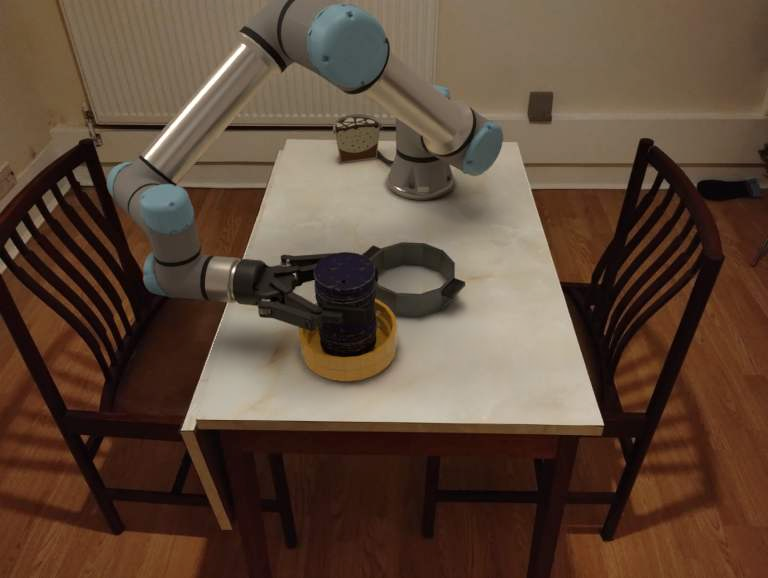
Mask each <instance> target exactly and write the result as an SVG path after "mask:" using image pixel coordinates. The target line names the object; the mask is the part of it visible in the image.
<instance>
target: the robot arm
mask: <svg viewBox="0 0 768 578" xmlns="http://www.w3.org/2000/svg"><path fill="white" fill-rule="evenodd" d="M236 38H237V39H236V41H237V42H236V44H235V45H234V46H233V48H232V49H231V50H229V51H230V52H228V53H227V55H226V56H225V57H224V58H223V59H222V61H221V62H220V63H218V65H217V66H216V67H215V68H214V69H213V71H212V72H211V73H210V74H209V75H208V77H207V78H206V79H205V80H204V81H203V83H201V85H200V86H199V87H198V88H197V89H196V91H194V93H193V94H192V95H191V96H190V97H189V98H188V100H187V101H186V102H185V103H184V104H183V105H182V106H181V108H179V110H178V112H177V113H175V114H174V116H173V117H172V118H171V119H170V120H169V122H168V123H167V124H166V125H165V126H164V127H163V128H162V130H161V131H160V132H159V133H158V134H157V136H156V137H155V138H154V139H153V140H152V141H151V142H150V144H149V145H148V146H147V147H146V148H145V149H144V150H143V151H142V153H141V154H140V155H139V156H138V157H137V158H136V159H135V161H124V162H121V163H119V164H118V165H115V166H114V167H113V168H112V169H111V170H110V172H109V173H108V175H107V179H106V188H107V190H108V193H109V195H110V196H111V197H112V199H113V200H114V203H116V204H117V206H118V207H119V209H121V210H122V211H124V212H125V213H126V214H127V215H128V217H130V218H131V220H132V221H133V222H134V223H135V224H136V225H137V227H139V229H140V230H141V231H142V232H143V233H144V234H145V235H146V237H147V239H148V242H149V244H150V248H151V251H152V252H150V253H149V254H148V255H147V257H145V258H146V259H145V260H144V263H143V268H142V272H143V277H142V280H143V284H144V286H145V288H146V289H147V291H148V292H150V293H151V294H154V295H158V296H163V297H168V298H172V299H177V298H179V299H190V300H191V299H193V300H200V301H201V300H203V301H210V302H220V303H229V304H230V303H231V304H235V303H237V304H238V305H242V306H243V305H244V306H253V307H257V310H258V311H257V312H258V316H259V317H260V318H262V319H263V318H264V319H274V320H277V321H279V322H283V323H286V324H287V325H292V326H294V327H298V328H299V327H300V328H303V329H306V330H309V331H315V330H316V326H317V327H322V326H323V322H328V323H337V324H340V323H343V322H345V323H355V324H364V325H365V324H366V308H357V307H348V306H339V305H329V304H324V307H323V310H322V308H321V307H319V306H317V305H315V303H313V301H311V300H308V299H307V298H305V297H303V296H301V295H300V294H298V293H296V292H295V289H296V288H298V287H301V286H302V285H303V284H305V283H309V282H313V281H314V282H315V278H314V268H315V266H316V264H317V263H318V262H319V261H320V260H321V259H323V258H324V257H326V256H328V255H331V254H335V253H336V252H329V253H316V254H301V255H290V254H281V255H280V262H279V264H278V265H277V264H276V265H268V264H267V263H266V262H264V260H261V259H252V258H242V259H240V258H239V257H234V256H221V255H212V254H210V255H209V254H203V250H202V247H201V242H200V237H199V233H198V228H197V224H196V219H195V211H194V206H193V205H192V202H191V199H190V196H189V194H188V192H187V190H186V189H185V188H183V186H180V185H178V184H179V183H180V182H181V181H182V180H183V178H184V177H185V176H186V175H187V174H188V172H189V171H190V170H191V169H192V168H193V167H194V166H195V165H196V164H197V162H198V161H199V160H200V159H201V158H202V156H203V155H204V154H205V153H206V152H207V151H208V150H209V149H210V147H212V145H213V144H214V143H215V141H216V140H217V139H218V138H219V137H220V136H221V134H222V133H223V132H224V131H225V130H226V129H227V128H228V127H229V125H231V123H232V122H233V121H234V120H235V118H237V117H238V115H239V114H240V113H241V112H242V110H243V109H244V108H245V107H246V106H247V105H248V103H250V101H252V99H253V98H254V97H255V96H256V94H257V93H258V92H260V90H261V89H262V87H264V85H265V84H266V83H267V82H268V81H269V80H270V79H271V77H273V76H281V75H282V74H283V73H284V72H285V71H286V70H287V68H288V67H289V66H291V65H293V64H295V63H296V64H297V65H299V66H302V67H303V68H305V69H307V70H309V71H311V72H313V73H314V74H315V75H318V76H319V77H321V78H322V79H324V80H325V81H327V82H328V83H330V84H331V85H333V86H334V87H335V88H337V89H339V90H340V91H341V92H343V93H345V94H346V95H350V96H358V95H363V96H365V97H366V98H367V99H369V100H370V101H372V102H373V103H375V104H376V105H378V106H379V107H380V108H382V109H383V110H385V111H386V112H388V114H390V115H392V116H393V117H394V118H395V156H394V158H393V159H388V158H386V156H384V155H383V154H382V153H381V152H380V151H379V150H378V153H377V158H379V160H381V161H382V162H383V163H386V164H387V165H391V166H390V170H389V172H388V177H387V178H388V181H387V182H388V187H389V190H391V191H392V193H394V194H395V195H397V196H400V197H401V198H404V199H408V200H414V201H427V200H428V201H429V200H435V199H437V198H441V197H443V196H446V195H447V194H448V193H449V192H451V190H452V189H453V186H454V175H453V171H452V168H451V166H452V167H454V168H455V169H457V170H459V171H460V172H461V173H462V174H464V175H468V176H471V177H478V176H481V175H483V174H484V173H485V172H487V171H489V170H490V168H491V167H492V166H494V164H495V162H496V161H497V159H498V157H499V155H500V153H501V150H502V147H503V142H504V130H503V128H502V127H501V126H500V125H499V124H498V123H496V122H495V121H494V120H493V119H492V120H490V119H487V118H486V117H484V116H482V115H481V114H479V113H478V112H477V111H476V110H475V109H473V108H472V107H471V106H470V105H469V104H468V103H466V102H465V101H463V100H460V99H451V97H452V96H451V93H450V90H449V89H448V88H447V87H445V86H442V85H437V84H430V82H428V80H426V79H425V78H423V77H422V76H421V75H420V74H419V73H417V72H416V71H415V70H414V69H413V68H411V67H410V66H409V65H408V64H406V63H405V62H404V61H403V60H402V59H401V58H400V57H398V56H397V55H396V54H395V53H393V52H392V46H391V42H390V40H389V37H388V36H387V35H386V32H385V29H384V27H383V26H382V24H381V22H380V21H379V20H378V19H377V18H376V17H375V16H374V15H373V14H371V13H370V12H369V11H367V10H366V9H364V8H362V7H361V6H358V5H355V4H351V3H346V2H343V1H341V0H270V1H269V2H267V3H266V4H265V5H263V6H262V7H261V8H260V9H259V10H258V11H257V12H256V13H255V14H254V15H252V16H251V18H250V19H249V20H248V21H247V22H246V23H245V24H244V25H243V26H242V27H241V29H240V30H239V31H238V32H237V33H236ZM331 132H332V133H333V130H332V131H331ZM334 134H336V133H335V130H334ZM375 280H376V282H377V283H378V282H379V275H378V267H375ZM307 321H308V322H307Z"/></svg>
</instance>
